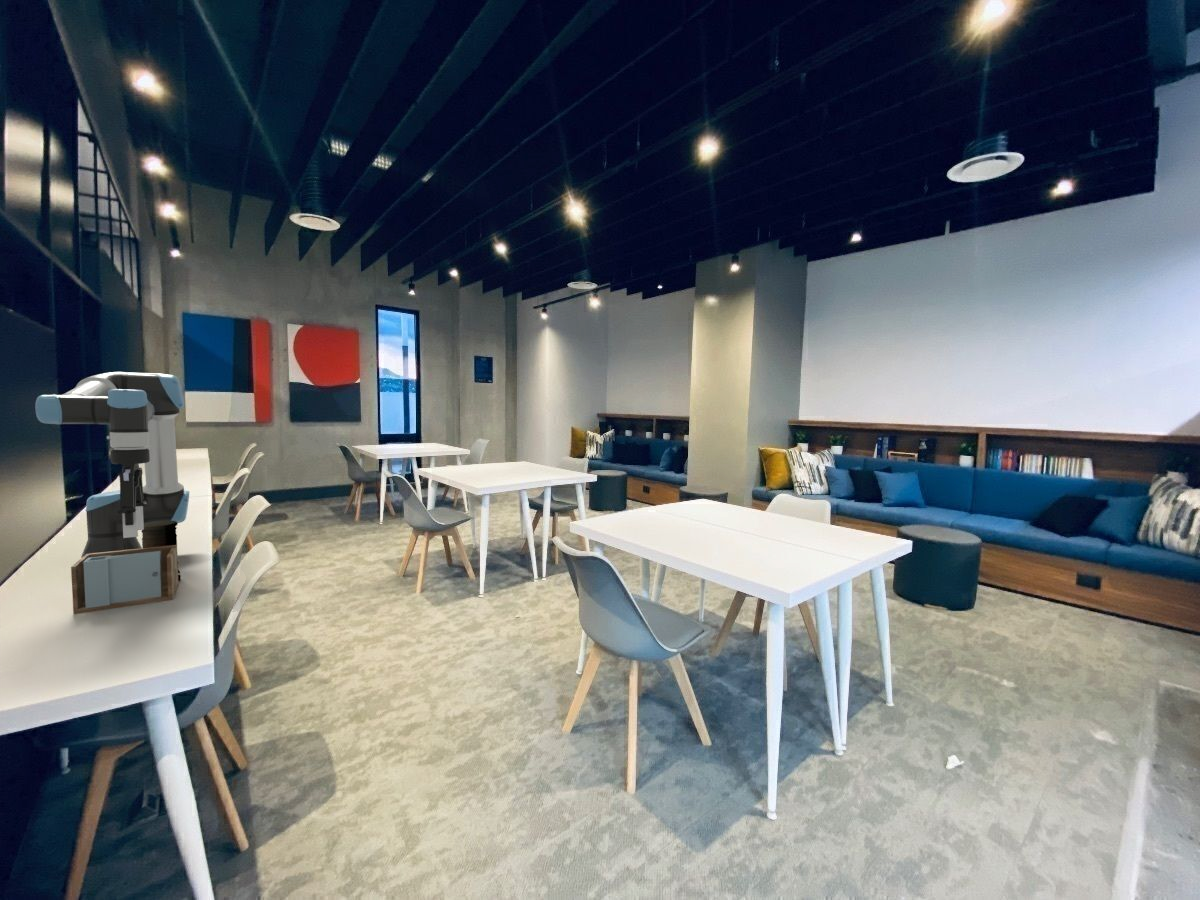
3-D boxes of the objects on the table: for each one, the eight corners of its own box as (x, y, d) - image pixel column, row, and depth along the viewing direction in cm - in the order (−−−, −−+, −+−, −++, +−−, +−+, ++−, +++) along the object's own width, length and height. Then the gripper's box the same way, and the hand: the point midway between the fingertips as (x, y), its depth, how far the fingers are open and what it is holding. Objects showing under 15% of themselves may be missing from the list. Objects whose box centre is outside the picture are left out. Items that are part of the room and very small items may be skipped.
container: (135, 583, 148) (132, 524, 147) (172, 575, 156) (170, 518, 155) (149, 589, 144) (146, 527, 143) (186, 580, 152) (184, 522, 150)
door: (90, 602, 130) (87, 557, 129) (163, 592, 138) (161, 550, 138) (85, 608, 126) (83, 562, 126) (160, 597, 135) (158, 554, 134)
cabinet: (88, 596, 137) (86, 553, 136) (178, 584, 148) (177, 544, 147) (73, 613, 126) (71, 567, 125) (172, 599, 136) (170, 556, 136)
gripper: (119, 445, 137) (122, 527, 139) (100, 451, 120) (105, 544, 122) (155, 445, 142) (158, 524, 143) (142, 451, 125) (146, 540, 127)
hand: (133, 533), depth 133 cm, fingers open, 8 cm apart
